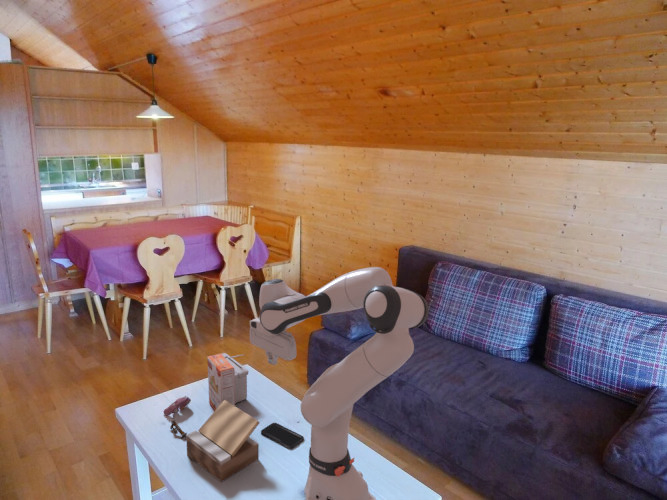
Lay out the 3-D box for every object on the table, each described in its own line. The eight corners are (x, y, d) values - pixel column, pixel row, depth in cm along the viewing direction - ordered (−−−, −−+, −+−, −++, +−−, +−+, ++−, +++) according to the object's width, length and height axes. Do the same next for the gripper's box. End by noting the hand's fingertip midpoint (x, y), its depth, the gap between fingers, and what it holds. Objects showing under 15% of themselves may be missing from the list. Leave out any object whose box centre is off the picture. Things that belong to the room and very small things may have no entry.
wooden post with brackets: (171, 425, 177) (174, 416, 175) (184, 440, 174) (187, 432, 172) (167, 427, 176) (169, 419, 174) (180, 443, 172) (182, 435, 170)
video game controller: (169, 421, 183) (174, 409, 180) (161, 413, 185) (166, 401, 182) (189, 409, 191) (194, 397, 188) (181, 401, 193) (186, 390, 190)
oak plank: (259, 422, 160) (257, 420, 159) (233, 456, 153) (230, 454, 152) (226, 402, 171) (224, 399, 170) (200, 432, 165) (198, 430, 164)
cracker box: (208, 403, 193) (206, 355, 188) (222, 399, 196) (221, 352, 191) (220, 421, 182) (219, 370, 177) (236, 417, 185) (235, 367, 180)
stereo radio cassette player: (208, 385, 207) (206, 341, 202) (225, 379, 212) (224, 337, 208) (231, 406, 192) (231, 360, 187) (250, 400, 197) (249, 354, 192)
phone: (274, 421, 182) (305, 437, 173) (274, 424, 182) (305, 440, 173) (259, 431, 175) (290, 448, 167) (259, 434, 176) (290, 451, 167)
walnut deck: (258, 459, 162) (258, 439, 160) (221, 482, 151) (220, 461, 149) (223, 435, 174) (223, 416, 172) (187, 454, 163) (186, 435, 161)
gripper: (301, 332, 159) (300, 370, 162) (260, 315, 172) (260, 351, 175) (287, 337, 154) (286, 377, 157) (246, 320, 167) (246, 356, 170)
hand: (272, 363), depth 166 cm, fingers closed
